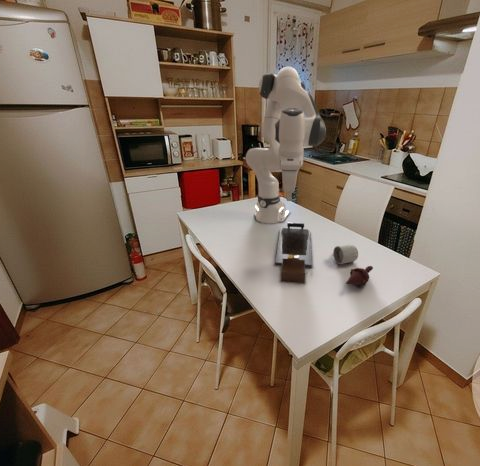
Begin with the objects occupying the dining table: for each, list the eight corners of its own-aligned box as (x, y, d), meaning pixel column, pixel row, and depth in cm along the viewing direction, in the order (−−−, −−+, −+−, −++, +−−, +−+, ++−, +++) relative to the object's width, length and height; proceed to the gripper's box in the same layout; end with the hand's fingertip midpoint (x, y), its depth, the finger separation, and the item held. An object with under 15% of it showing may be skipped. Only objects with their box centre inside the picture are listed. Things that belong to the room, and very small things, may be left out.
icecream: (358, 284, 90) (381, 271, 98) (342, 269, 94) (366, 258, 103) (350, 297, 94) (373, 283, 102) (335, 282, 98) (358, 271, 107)
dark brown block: (304, 283, 100) (305, 273, 97) (280, 281, 100) (281, 271, 98) (304, 269, 108) (305, 259, 105) (282, 268, 108) (282, 258, 106)
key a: (298, 250, 117) (298, 251, 117) (293, 249, 118) (293, 249, 119) (291, 258, 113) (291, 259, 113) (286, 257, 114) (286, 258, 114)
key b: (291, 250, 119) (291, 251, 119) (287, 251, 118) (287, 252, 118) (300, 257, 114) (300, 258, 114) (295, 258, 113) (295, 259, 113)
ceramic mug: (358, 264, 111) (360, 248, 108) (341, 267, 109) (343, 251, 105) (343, 252, 120) (346, 237, 117) (328, 255, 118) (330, 240, 114)
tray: (311, 268, 109) (311, 264, 108) (275, 265, 110) (275, 262, 109) (309, 233, 136) (309, 230, 135) (280, 231, 137) (280, 228, 137)
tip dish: (309, 228, 97) (309, 222, 100) (282, 227, 98) (282, 221, 101) (306, 255, 108) (306, 249, 110) (281, 254, 109) (282, 248, 111)
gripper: (283, 152, 103) (282, 186, 109) (279, 166, 85) (279, 205, 91) (299, 153, 102) (298, 187, 109) (299, 166, 84) (297, 206, 91)
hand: (289, 195), depth 100 cm, fingers open, 8 cm apart
